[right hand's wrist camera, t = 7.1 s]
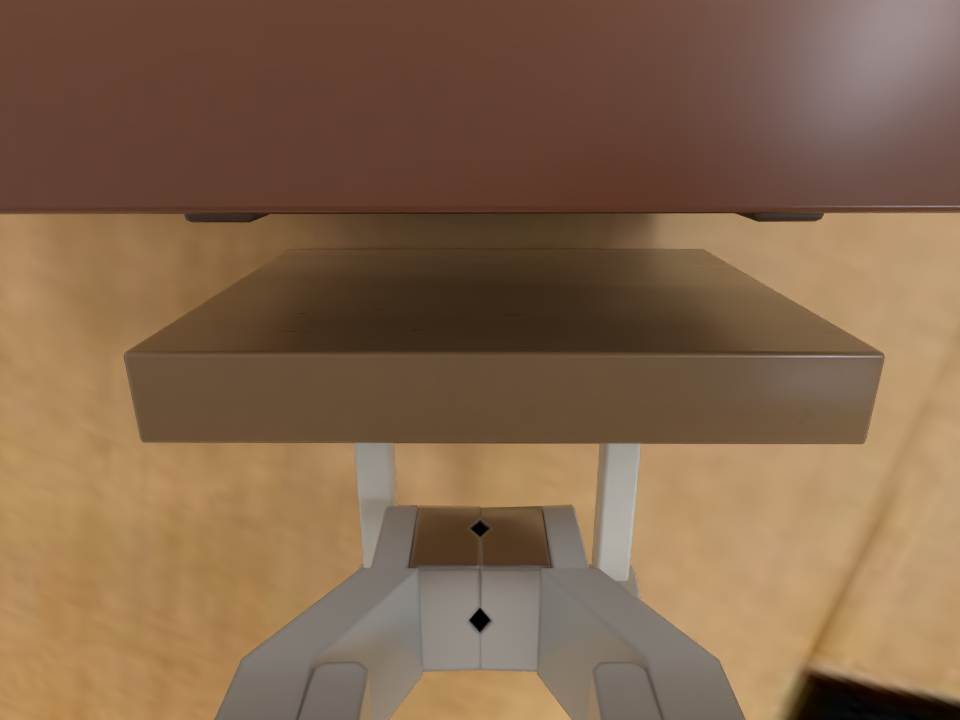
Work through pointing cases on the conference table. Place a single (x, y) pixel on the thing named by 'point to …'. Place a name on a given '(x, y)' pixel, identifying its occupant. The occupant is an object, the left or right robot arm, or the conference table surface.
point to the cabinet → (479, 106)
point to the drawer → (504, 362)
